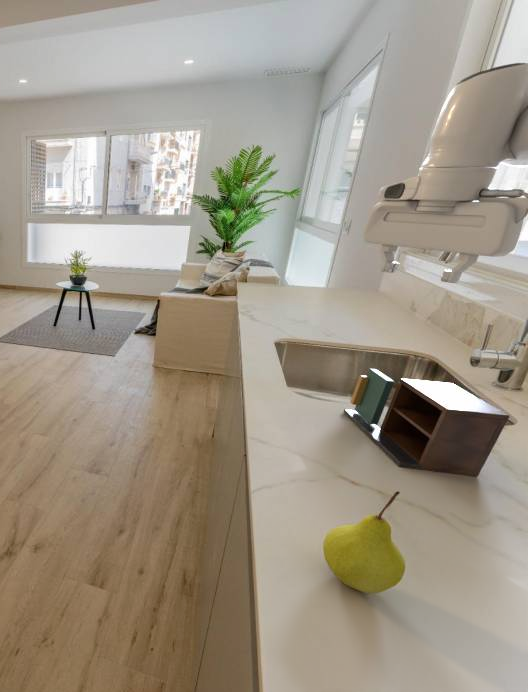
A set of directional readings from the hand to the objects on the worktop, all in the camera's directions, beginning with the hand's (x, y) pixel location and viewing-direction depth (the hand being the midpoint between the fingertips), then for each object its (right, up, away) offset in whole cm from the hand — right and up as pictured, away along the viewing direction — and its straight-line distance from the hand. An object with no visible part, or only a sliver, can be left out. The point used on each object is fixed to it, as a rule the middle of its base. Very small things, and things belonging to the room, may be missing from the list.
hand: (416, 276), depth 72 cm
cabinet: (+1, -29, +4) cm, 29 cm away
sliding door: (-1, -25, +10) cm, 27 cm away
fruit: (-30, -40, -24) cm, 56 cm away
